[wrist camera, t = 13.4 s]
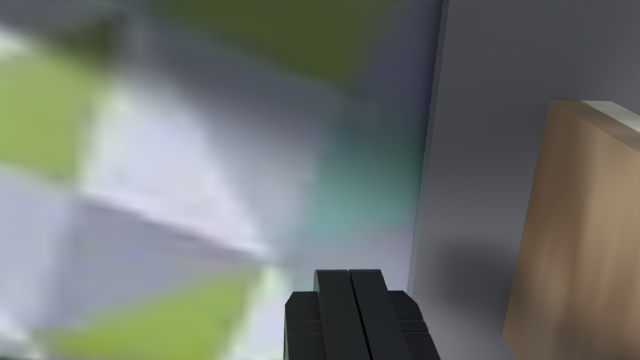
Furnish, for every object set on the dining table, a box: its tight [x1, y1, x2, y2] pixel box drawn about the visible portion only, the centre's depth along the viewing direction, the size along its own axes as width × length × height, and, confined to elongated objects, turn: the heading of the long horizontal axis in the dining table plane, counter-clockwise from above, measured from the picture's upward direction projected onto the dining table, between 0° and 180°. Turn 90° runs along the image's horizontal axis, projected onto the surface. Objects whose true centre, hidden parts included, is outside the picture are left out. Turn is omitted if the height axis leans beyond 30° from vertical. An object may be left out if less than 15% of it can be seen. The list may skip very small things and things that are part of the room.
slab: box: [502, 100, 640, 360], centre depth 16 cm, size 8×2×6 cm, turn 177°
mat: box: [407, 0, 640, 360], centre depth 19 cm, size 16×14×1 cm
